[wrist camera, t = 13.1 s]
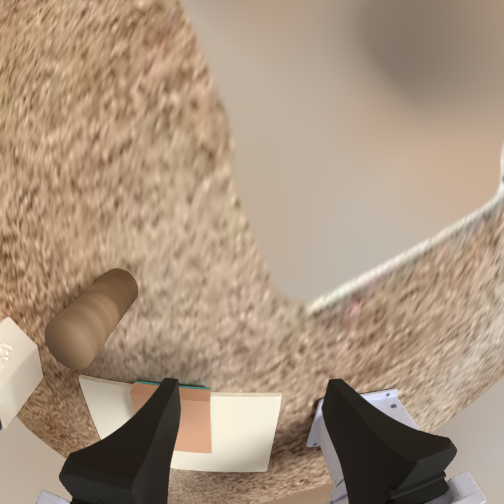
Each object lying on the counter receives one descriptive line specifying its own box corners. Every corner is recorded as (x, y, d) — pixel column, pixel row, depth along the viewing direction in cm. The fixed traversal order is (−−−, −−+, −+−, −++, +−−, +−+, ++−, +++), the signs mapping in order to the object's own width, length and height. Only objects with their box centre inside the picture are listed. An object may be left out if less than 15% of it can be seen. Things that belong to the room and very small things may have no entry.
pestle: (136, 269, 21) (85, 324, 12) (139, 307, 22) (97, 374, 13) (100, 267, 21) (39, 316, 12) (104, 303, 22) (52, 364, 13)
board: (280, 392, 25) (281, 396, 24) (266, 467, 28) (266, 471, 28) (80, 374, 23) (78, 377, 23) (110, 453, 27) (109, 456, 26)
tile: (210, 401, 22) (211, 453, 23) (210, 386, 23) (212, 439, 25) (129, 393, 21) (144, 446, 23) (135, 379, 23) (147, 433, 25)
